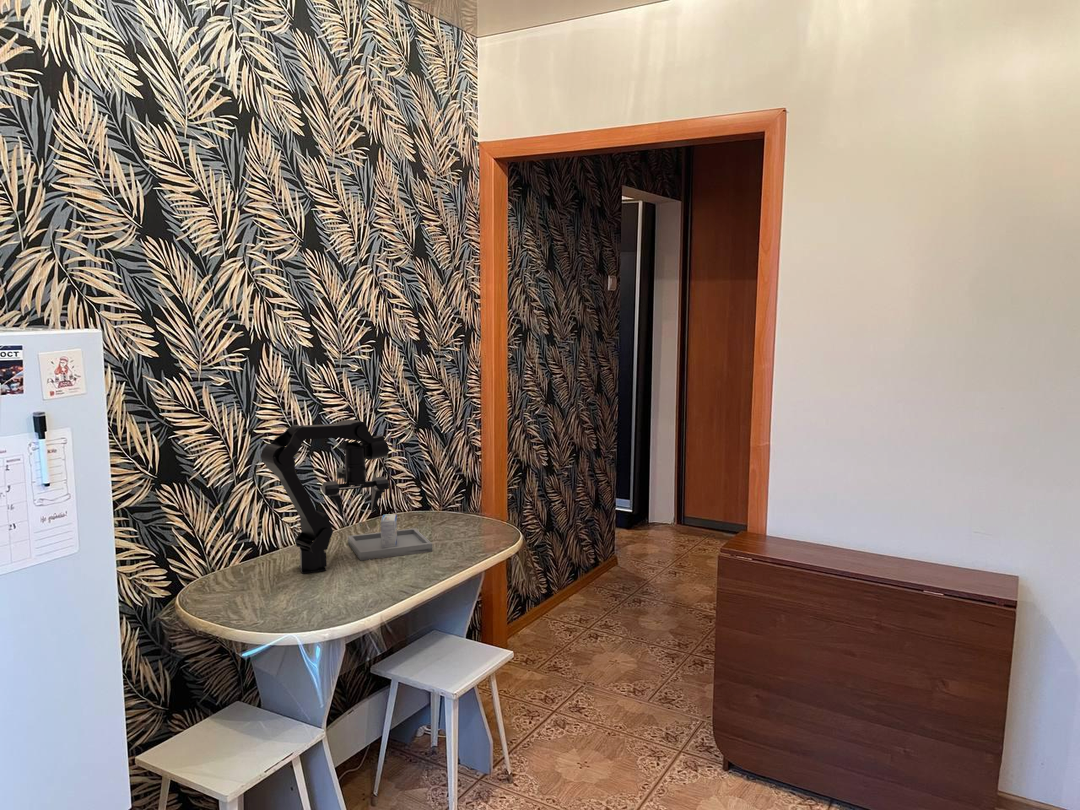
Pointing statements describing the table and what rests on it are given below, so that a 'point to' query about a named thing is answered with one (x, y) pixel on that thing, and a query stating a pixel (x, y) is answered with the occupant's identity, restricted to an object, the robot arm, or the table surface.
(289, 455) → the robot arm
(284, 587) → the table surface
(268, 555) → the table surface
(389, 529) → the medicine box
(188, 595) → the table surface
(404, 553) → the tray
